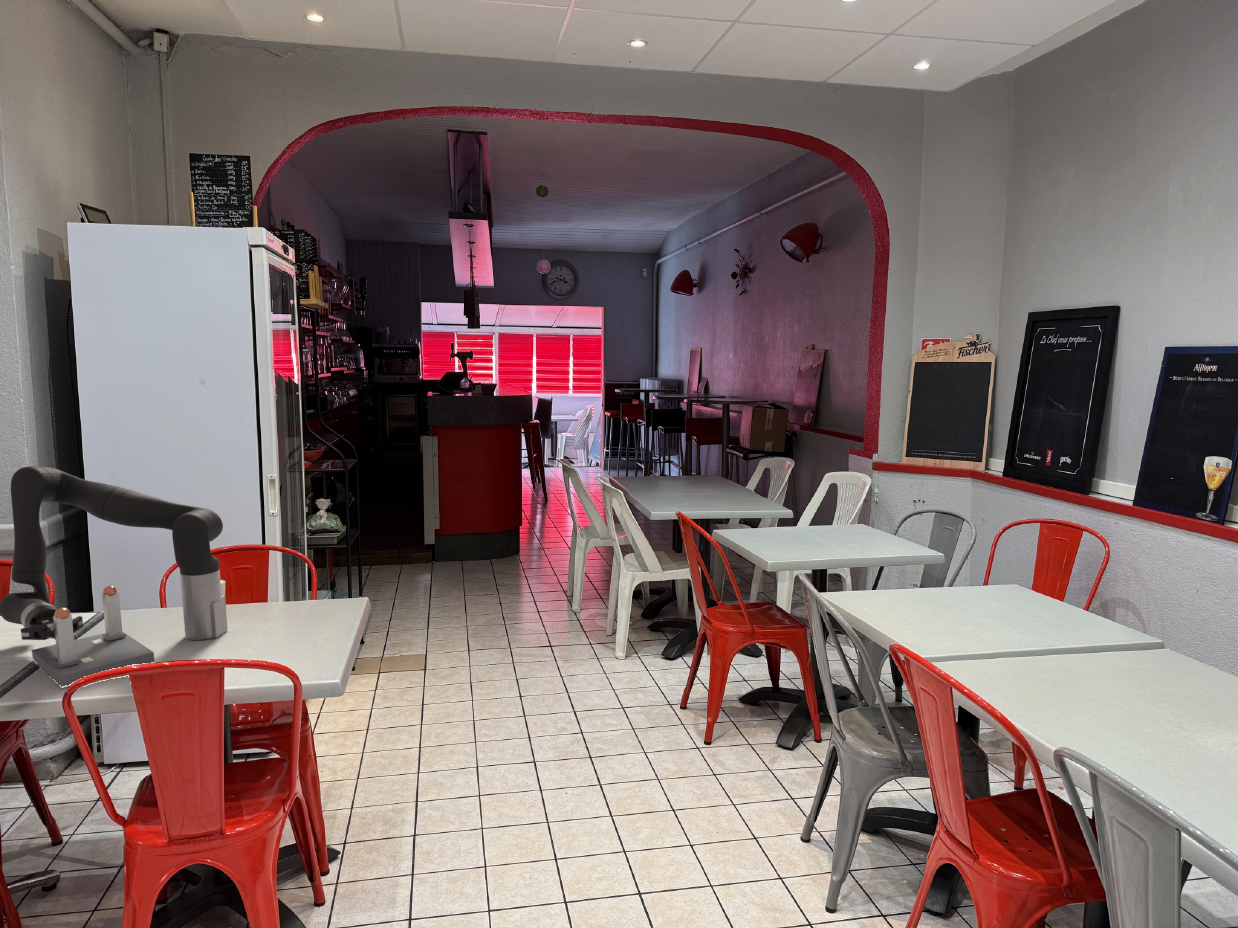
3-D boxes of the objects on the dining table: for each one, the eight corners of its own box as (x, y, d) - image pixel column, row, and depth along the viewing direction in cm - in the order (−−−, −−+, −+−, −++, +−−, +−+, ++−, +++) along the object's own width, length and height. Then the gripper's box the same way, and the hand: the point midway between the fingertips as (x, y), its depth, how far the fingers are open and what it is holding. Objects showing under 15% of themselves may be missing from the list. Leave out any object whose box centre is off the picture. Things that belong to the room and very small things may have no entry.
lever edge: (54, 663, 187) (48, 608, 185) (74, 658, 190) (69, 603, 188) (59, 667, 184) (53, 611, 183) (80, 662, 187) (74, 607, 186)
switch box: (33, 661, 197) (31, 649, 197) (121, 640, 211) (119, 628, 211) (61, 688, 181) (60, 674, 181) (154, 664, 195) (153, 651, 195)
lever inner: (102, 637, 204) (97, 586, 202) (120, 633, 207) (116, 582, 205) (108, 640, 202) (103, 589, 200) (126, 636, 205) (121, 585, 203)
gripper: (8, 611, 193) (27, 627, 182) (72, 598, 203) (94, 613, 192) (11, 641, 194) (30, 659, 183) (75, 627, 204) (97, 644, 193)
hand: (63, 636), depth 187 cm, fingers closed
